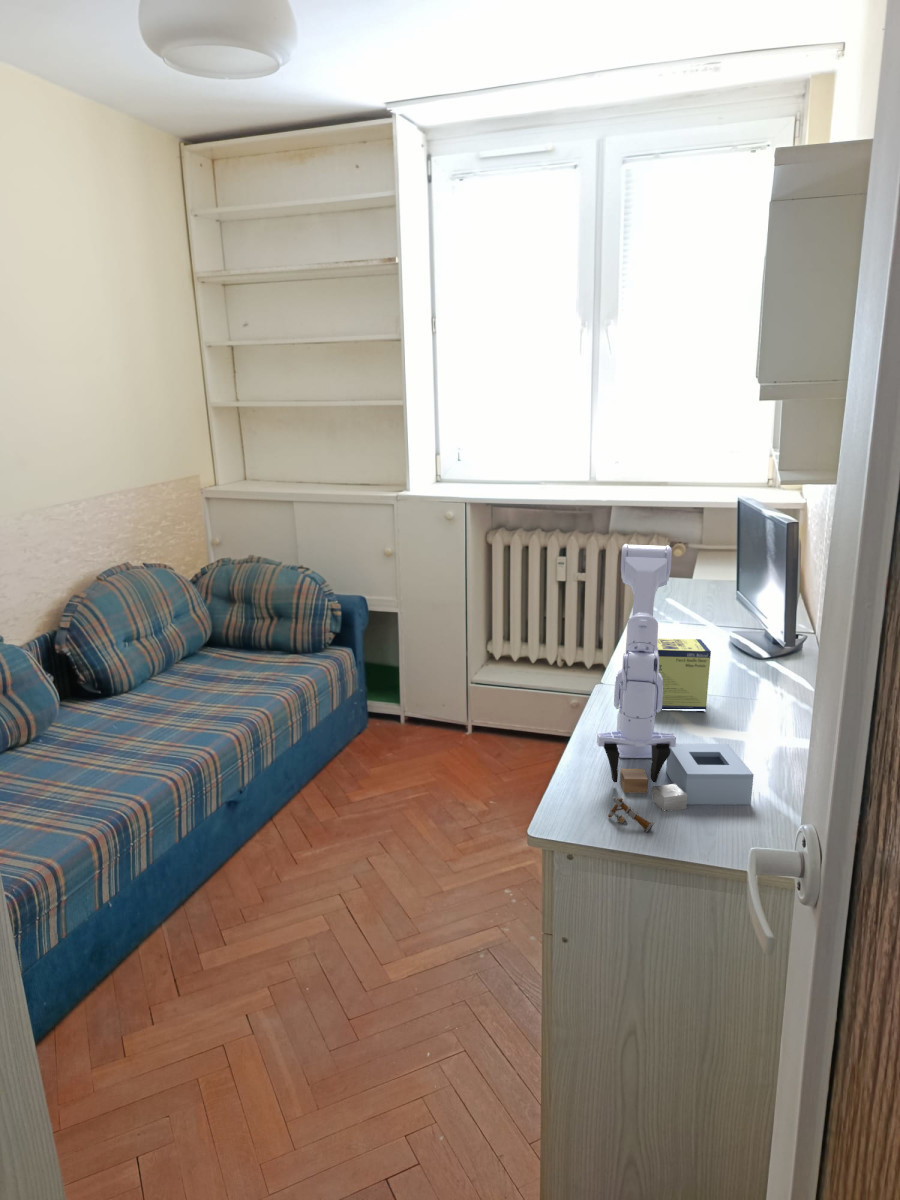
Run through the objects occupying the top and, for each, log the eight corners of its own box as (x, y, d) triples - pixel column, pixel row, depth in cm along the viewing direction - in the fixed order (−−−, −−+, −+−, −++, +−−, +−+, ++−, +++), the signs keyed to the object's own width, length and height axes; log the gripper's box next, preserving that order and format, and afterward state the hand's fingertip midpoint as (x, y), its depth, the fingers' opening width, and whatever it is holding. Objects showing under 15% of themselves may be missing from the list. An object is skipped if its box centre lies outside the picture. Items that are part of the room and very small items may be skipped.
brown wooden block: (619, 782, 159) (620, 768, 158) (642, 783, 159) (643, 769, 158) (623, 793, 154) (624, 778, 154) (647, 793, 154) (648, 779, 154)
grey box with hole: (665, 771, 163) (667, 743, 162) (725, 771, 163) (728, 743, 162) (685, 804, 150) (687, 774, 148) (750, 804, 150) (753, 774, 148)
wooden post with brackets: (606, 810, 146) (617, 792, 144) (644, 840, 142) (655, 821, 140) (602, 814, 144) (612, 795, 142) (639, 844, 141) (651, 825, 139)
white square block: (652, 801, 151) (653, 786, 151) (674, 798, 152) (675, 783, 152) (663, 812, 147) (664, 797, 146) (686, 809, 148) (687, 794, 147)
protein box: (707, 712, 196) (712, 650, 192) (641, 711, 197) (645, 649, 193) (697, 698, 206) (701, 638, 202) (634, 696, 207) (638, 637, 203)
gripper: (603, 720, 149) (599, 789, 152) (682, 721, 149) (677, 789, 152) (596, 707, 156) (593, 773, 159) (672, 707, 156) (667, 773, 159)
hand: (633, 780), depth 156 cm, fingers open, 7 cm apart
